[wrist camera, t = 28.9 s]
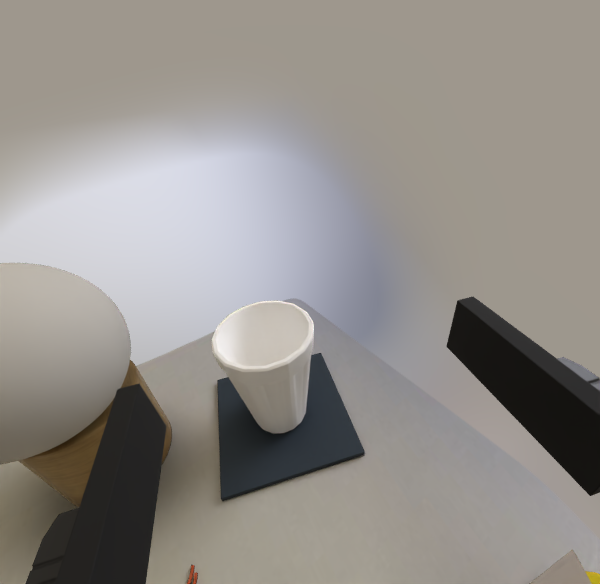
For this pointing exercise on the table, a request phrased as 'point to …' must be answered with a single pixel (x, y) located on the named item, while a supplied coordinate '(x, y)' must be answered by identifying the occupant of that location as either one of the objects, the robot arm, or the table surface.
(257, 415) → the cup
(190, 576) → the necklace
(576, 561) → the toy
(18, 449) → the lamp
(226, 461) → the mat
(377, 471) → the table surface
